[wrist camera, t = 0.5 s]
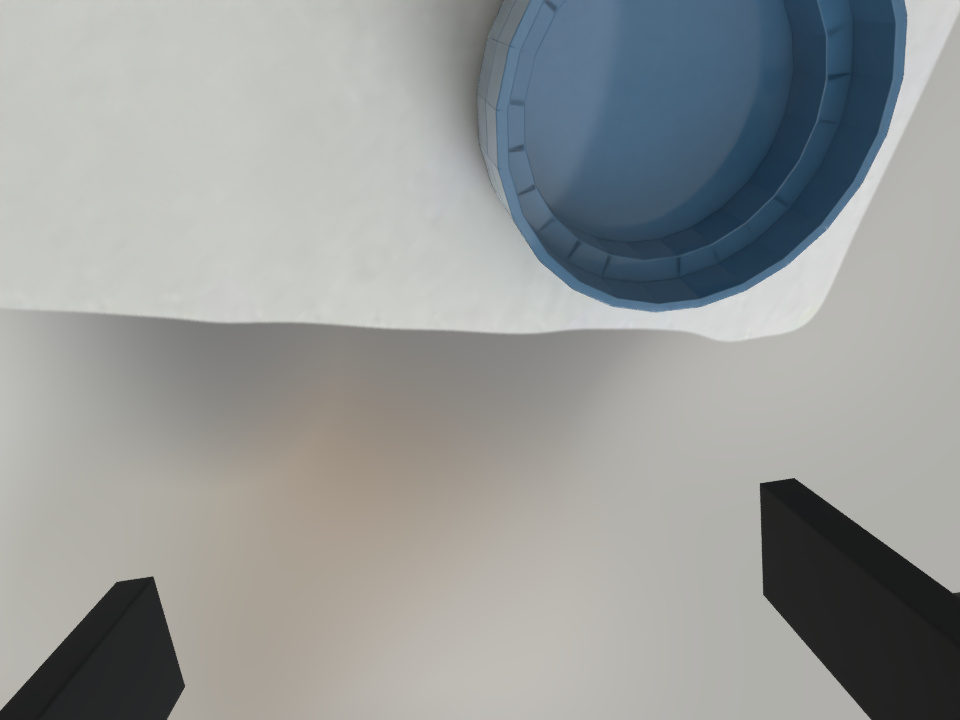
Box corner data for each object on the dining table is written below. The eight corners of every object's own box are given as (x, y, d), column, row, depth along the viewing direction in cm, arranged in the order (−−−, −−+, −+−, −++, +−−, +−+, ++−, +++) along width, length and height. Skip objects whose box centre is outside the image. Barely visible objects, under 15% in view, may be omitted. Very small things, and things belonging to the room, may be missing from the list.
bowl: (401, 46, 33) (408, 57, 27) (754, -226, 29) (851, -281, 23) (579, 321, 44) (611, 372, 38) (854, 147, 40) (938, 174, 34)
